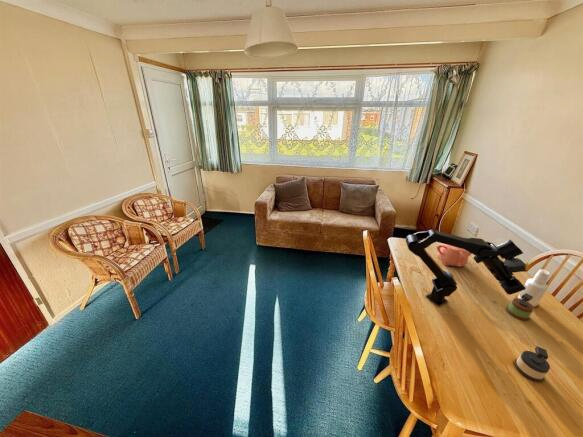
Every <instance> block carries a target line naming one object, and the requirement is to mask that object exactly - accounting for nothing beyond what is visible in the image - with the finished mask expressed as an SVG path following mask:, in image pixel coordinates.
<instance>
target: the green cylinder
mask: <svg viewBox="0 0 583 437" xmlns="http://www.w3.org/2000/svg"><path fill="white" fill-rule="evenodd" d="M534 309H535V308H534V307H533V306H532V305H531V304H530V303H529V302H525V301H522V300H521V299H519V298H518V297H515V298H512V300H511V302H510V303H509V305H508V307H507V312H508V314H509V315H511V316H513V317H514V318H516V319H518V320H523V321H526V320H528V319H529V317H530V316H531V315H532V313H533V311H534Z"/></svg>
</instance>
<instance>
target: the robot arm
mask: <svg viewBox="0 0 583 437" xmlns="http://www.w3.org/2000/svg"><path fill="white" fill-rule="evenodd" d="M435 243H440V244H447V245H450V246H454V247H458V248H462V249H465V250H467V251H468V252H470V253H472V254H471V255H474V256H473V258H472V259H473V260H474V261H475V263H476V264H480V263H482V264H483V265H484V266H485V268H486V269H487V270H488V271H489V273H491V274H492V276H493V278H494V279H495V280H496V281H497V282H498V283H499V285H500V287H501V288H502V289H503V291H504V292H505V293H506V295H508V296H510V295H514V294H516V293H520V292H521V291H523V290H525V289H526V288H525V287H524V285H525V284H523V283H522V282H521V281H520V279H518V278H517V277H516V276H515V273H525V272H527V267H526V263H525V262H524V261H523V260H522V259H520V258H518V256H521V255H523V254H524V252H523V250H522V249H521V248H520V247H518V246H517V245H516V244H515V243H514V241H513V240H512V239H508V240H506V241H505V242H502V243H500V244H498V245H495V243H493V242H489V241H486V240H485V239H483V238H479V237H462V236H458V235H455V234H450V233H448V232H443V231H439V230H437V229H432V228H431V229H429V230H427V231H418V232H415V233H412V234H408V235H407V236H406V237H405V244H406V246H407V249H408V250H409V252H411V253H412V254H413V255H415V256H417V257H419V258H420V260H421V261H422V262H423V264H424V265H425V266H426V267H427V268H428V269H429V271H430V272H431V273H432V274H433V275H434V276H435V277H434V278H433V279H431V283H432V284H433V287H432V290H431V293H430V294H428V295H426V298H427V299H428V300H430V301H431V302H432V303H434V304H435V305H436V306H442V305H444V304H445V303H447V302H448V300H447V299H446V297H448V298H449V297H451V295H452V294H453V293H454V292H456V291H457V289H458V286H457V285H458V282H457V281H456V279H455V276H454V275H453V274H452V273H451V272H450V271H449V269H447V270H443V268H441V267H440V264H438V262H437V261H436V260H435V259H434V258H433V256H431V254H430V253H429V252H428V250H427V248H429V247H430V246H431V245H433V244H435ZM503 259H504V261H503Z"/></svg>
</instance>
